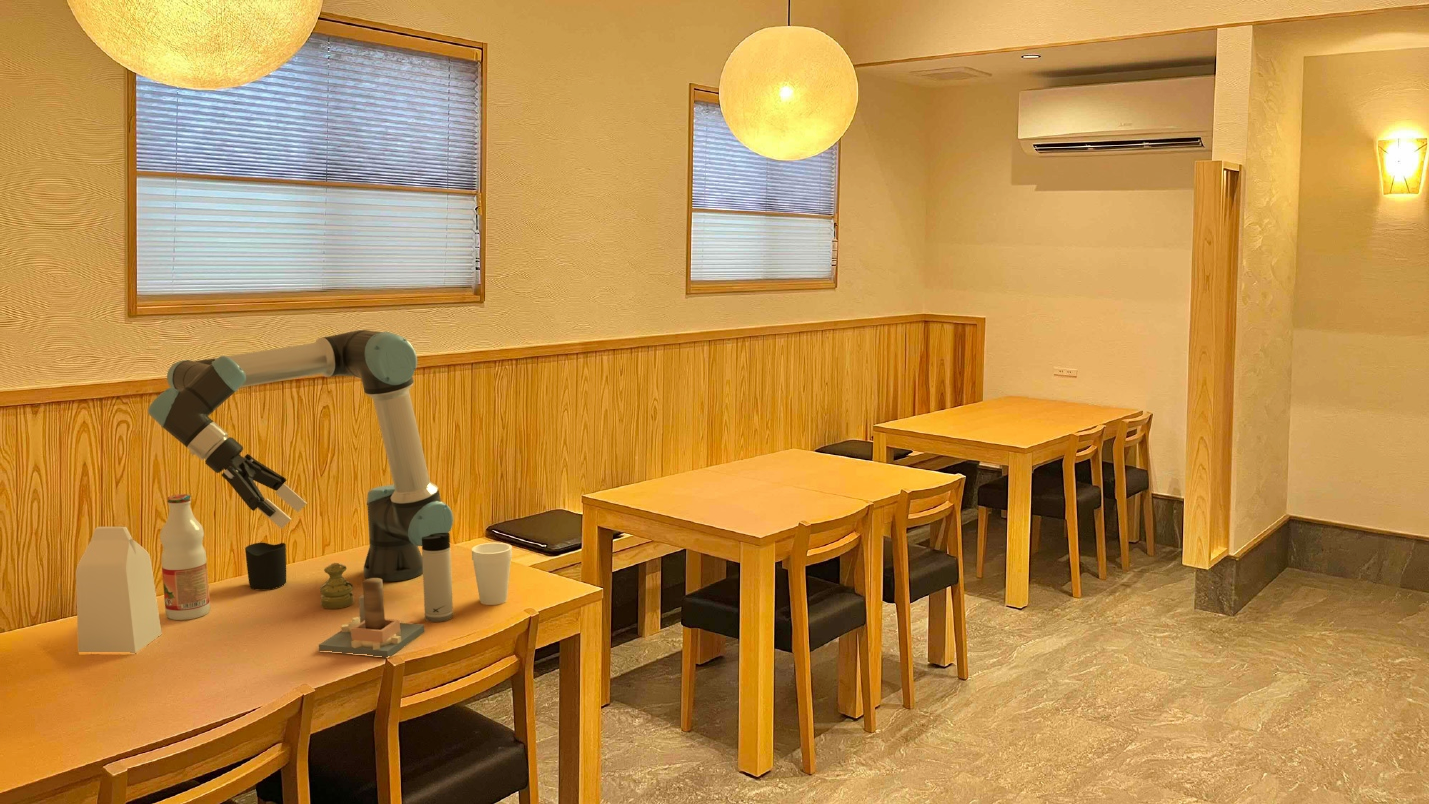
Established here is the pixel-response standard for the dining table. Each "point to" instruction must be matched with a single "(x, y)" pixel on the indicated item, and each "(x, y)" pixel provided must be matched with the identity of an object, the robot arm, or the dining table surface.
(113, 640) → the milk
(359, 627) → the gear board
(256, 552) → the pen holder
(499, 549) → the foam cup
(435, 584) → the travel mug
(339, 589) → the salt shaker
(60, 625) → the dining table surface
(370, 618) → the wooden dowel peg
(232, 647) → the dining table surface
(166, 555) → the fruit juice
